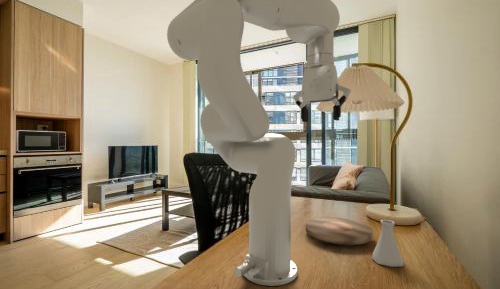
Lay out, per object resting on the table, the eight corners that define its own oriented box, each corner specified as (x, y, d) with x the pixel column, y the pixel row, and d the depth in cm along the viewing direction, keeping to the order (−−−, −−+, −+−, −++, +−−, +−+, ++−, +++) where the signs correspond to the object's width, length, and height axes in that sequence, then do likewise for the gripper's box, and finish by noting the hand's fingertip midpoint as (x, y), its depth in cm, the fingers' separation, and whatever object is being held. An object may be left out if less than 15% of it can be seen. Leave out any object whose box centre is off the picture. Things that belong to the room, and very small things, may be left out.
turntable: (359, 251, 66) (359, 243, 66) (293, 232, 79) (293, 226, 79) (380, 231, 81) (380, 225, 81) (321, 218, 94) (321, 213, 94)
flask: (409, 269, 59) (409, 227, 59) (375, 266, 61) (376, 224, 61) (397, 256, 66) (397, 218, 66) (368, 253, 68) (368, 216, 68)
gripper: (288, 65, 78) (288, 121, 78) (346, 54, 67) (345, 118, 67) (299, 71, 84) (299, 123, 84) (354, 61, 73) (353, 120, 73)
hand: (320, 120), depth 75 cm, fingers open, 9 cm apart
